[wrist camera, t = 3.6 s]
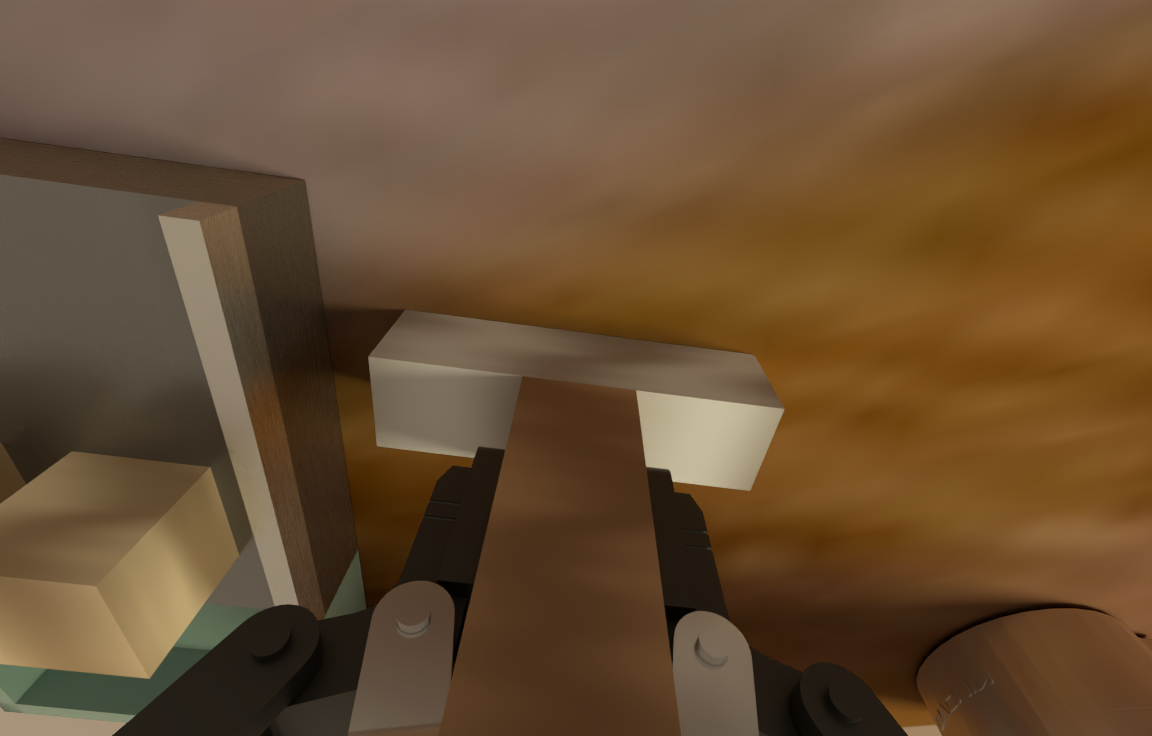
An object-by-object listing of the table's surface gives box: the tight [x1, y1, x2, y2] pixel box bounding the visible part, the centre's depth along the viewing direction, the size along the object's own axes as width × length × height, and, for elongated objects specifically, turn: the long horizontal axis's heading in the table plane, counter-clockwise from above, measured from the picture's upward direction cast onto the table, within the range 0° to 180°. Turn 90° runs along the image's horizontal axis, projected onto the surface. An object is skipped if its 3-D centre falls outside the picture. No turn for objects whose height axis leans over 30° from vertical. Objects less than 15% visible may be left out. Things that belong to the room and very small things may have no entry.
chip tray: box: [0, 550, 366, 723], centre depth 22 cm, size 15×9×4 cm, turn 83°
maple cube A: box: [0, 451, 239, 679], centre depth 14 cm, size 4×4×4 cm
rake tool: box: [368, 310, 784, 736], centre depth 11 cm, size 11×3×12 cm, turn 83°
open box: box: [0, 138, 358, 620], centre depth 15 cm, size 15×15×4 cm
